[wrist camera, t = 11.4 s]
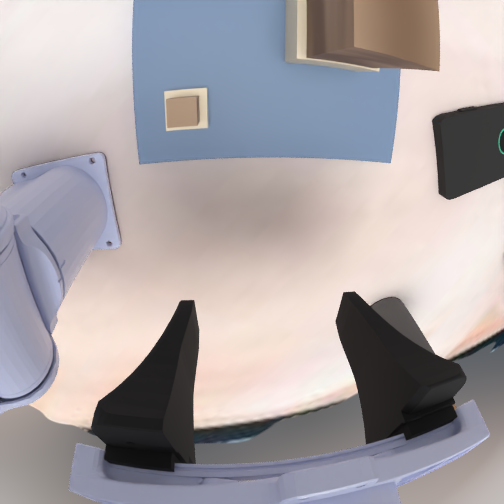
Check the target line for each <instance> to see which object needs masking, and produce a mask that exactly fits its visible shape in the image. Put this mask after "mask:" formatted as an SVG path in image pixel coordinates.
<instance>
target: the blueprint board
mask: <svg viewBox="0 0 504 504" xmlns="http://www.w3.org/2000/svg"><path fill="white" fill-rule="evenodd" d="M306 48H307V1H306V0H134V3H133V28H132V66H133V94H134V110H135V124H136V135H137V146H138V155H139V164H148V163H158V162H169V161H182V160H197V159H215V158H246V157H296V158H326V159H345V160H360V161H372V162H383V163H391V158H392V151H393V144H394V136H395V128H396V120H397V110H398V99H399V86H400V69H397V68H369V67H364V66H359V65H353V64H348V63H342V62H335V61H328V60H321V59H312V58H306Z"/></svg>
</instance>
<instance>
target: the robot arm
mask: <svg viewBox="0 0 504 504" xmlns="http://www.w3.org/2000/svg"><path fill="white" fill-rule="evenodd" d="M91 158H94V160H95V163H92V162H91ZM24 173H25V174H26V176H24ZM12 180H13V185H12V186H11V187H9V188H8V189H6V190H5V191H4V192H2V193H1V194H0V414H2V413H3V412H5V411H7V410H9V409H12V408H16V407H21V406H25V405H28V404H30V403H33V402H34V401H36V400H37V399H39V398H40V397H41V396H42V395H44V394H45V393H46V391H47V390H48V389H49V388H50V386H51V385H52V383H53V381H54V379H55V377H56V374H57V371H58V367H59V354H58V349H57V346H56V344H55V341H54V339H53V337H52V336H51V334H52V332H53V330H54V328H55V326H56V324H57V321H58V319H57V311H58V309H59V307H60V305H61V303H62V301H63V299H64V297H65V296H66V294H67V292H68V290H69V288H70V286H71V284H72V283H73V281H74V279H75V277H76V275H77V274H78V272H79V270H80V269H81V267H82V265H83V263H84V262H85V260H86V258H87V257H88V255H89V253H90V252H91V250H98V249H115V248H119V247H120V245H121V238H120V234H119V230H118V225H117V221H116V216H115V211H114V206H113V201H112V196H111V190H110V185H109V179H108V173H107V166H106V160H105V156H104V154H103V153H99V152H98V153H92V154H87V155H81V156H76V157H71V158H66V159H61V160H56V161H52V162H48V163H43V164H39V165H35V166H31V167H27V168H23V169H19V170H16V171H15V172H13V174H12ZM108 241H110V242H111V243H112V244H109V243H108ZM336 325H337V330H338V334H339V338H340V341H341V343H342V346H343V349H344V351H345V354H346V356H347V359H348V362H349V364H350V367H351V369H352V372H353V375H354V378H355V381H356V385H357V389H358V393H359V398H360V403H361V408H362V414H363V421H364V428H365V438H366V445H363V446H359V447H355V448H350V449H346V450H342V451H338V452H332V453H327V454H323V455H317V456H311V457H304V458H298V459H291V460H283V461H273V462H262V463H247V464H196V463H195V448H194V421H193V393H194V383H195V375H196V367H197V359H198V351H199V326H198V321H197V315H196V308H195V302H194V300H182V301H180V302H179V305H178V307H177V309H176V311H175V313H174V315H173V317H172V319H171V320H170V322H169V324H168V326H167V327H166V329H165V331H164V332H163V334H162V336H161V337H160V339H159V340H158V342H157V343H156V345H155V346H154V347H153V349H152V350H151V352H150V353H149V354H148V355H147V357H146V358H145V359H144V360H143V362H142V363H141V364H140V365H139V366H138V367H137V368H136V369H135V371H134V372H133V373H132V374H131V375H130V376H129V377H128V378H126V379H125V380H124V381H123V382H122V383H121V384H120V385H119V386H118V387H117V388H115V389H114V390H113V391H112V392H110V393H109V394H108V395H106V396H105V397H104V398H102V399H101V400H100V401H99V402H98V404H97V407H96V410H95V413H94V417H93V421H92V426H91V429H92V431H93V432H94V434H95V435H96V436H98V437H99V438H100V439H101V440H102V441H103V442H104V443H105V444H106V449H105V450H103V449H101V448H98V447H93V446H89V445H84V444H80V443H77V444H76V448H75V453H74V459H73V464H72V470H71V476H70V483H69V490H70V491H72V492H74V493H76V494H78V495H81V496H83V497H85V498H88V499H90V500H93V501H96V502H100V503H104V504H401V502H400V498H399V494H398V491H397V487H398V486H401V485H403V484H405V483H408V482H410V481H412V480H415V479H417V478H419V477H421V476H424V475H426V474H428V473H430V472H432V471H434V470H436V469H438V468H440V467H442V466H444V465H445V464H447V463H449V462H451V461H453V460H455V459H457V458H459V457H460V456H462V455H464V454H465V453H467V452H468V451H470V450H471V449H473V448H474V447H476V446H477V445H478V444H480V443H481V442H482V441H484V440H485V439H486V438H488V437H489V436H490V433H489V431H488V429H487V427H486V424H485V422H484V420H483V418H482V416H481V414H480V411H479V410H478V407H477V405H476V403H475V401H474V400H471V401H469V402H467V403H465V404H463V405H461V406H459V407H457V408H456V409H454V407H453V405H454V404H455V401H454V399H453V397H454V396H455V394H456V393H457V392H458V391H459V390H460V389H461V388H462V386H463V385H464V384H465V382H466V376H465V374H464V372H463V370H462V368H461V367H460V365H459V364H457V363H454V362H452V361H449V360H447V359H444V358H442V357H440V356H438V355H435V354H433V353H431V352H430V351H428V350H426V349H424V348H422V347H421V346H419V345H417V344H416V343H414V342H413V341H411V340H410V339H408V338H407V337H406V336H404V335H403V334H401V333H400V332H399V331H397V330H396V329H395V328H394V327H393V326H391V325H390V324H389V323H388V322H387V321H386V320H384V319H383V318H382V317H381V316H380V315H379V314H378V313H377V312H376V311H375V310H374V309H373V308H371V307H370V306H369V305H368V304H367V303H366V302H365V301H364V300H363V299H362V298H361V297H360V296H359V295H358V294H357V293H356V292H343V296H342V300H341V304H340V307H339V311H338V315H337V318H336ZM258 479H261V480H258ZM239 480H253V481H245V482H239Z"/></svg>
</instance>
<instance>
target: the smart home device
mask: <svg viewBox="0 0 504 504" xmlns="http://www.w3.org/2000/svg"><path fill="white" fill-rule="evenodd" d="M432 123H433V130H434V138H435V146H436V156H437V168H438V185H439V194H440V195H442V196H443V197H445V198H446V199H448V200H450V199H454V198H457V197H459V196H461V195H464V194H466V193H469V192H471V191H473V190H476V189H478V188H480V187H483V186H485V185H487V184H490V183H492V182H494V181H497V180H499V179H501V178H504V103H498V104H492V105H485V106H480V107H468V108H463V109H458V111H453V112H449V113H444V114H440V115H437V116H436V117H434V119H433V120H432Z"/></svg>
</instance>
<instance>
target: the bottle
mask: <svg viewBox="0 0 504 504" xmlns="http://www.w3.org/2000/svg"><path fill="white" fill-rule="evenodd" d="M371 308H373V309H374V310H375V311H376V312H377V313H378V314H379V315H380V316H381V317H382V318H383V319H384V320H386V321H387V322H388V323H389V324H390V325H391V326H393V327H394V328H395V329H396V330H397V331H399V332H400V333H401V334H403V335H404V336H406V337H407V338H408V339H410V340H411V341H413V342H414V343H416V344H417V345H419V346H421V347H422V348H424V349H426V350H428V351H430V352H431V353H433V354H435V353H434V351H433V350H432V348H431V346H430V345H429V343H428V341H427V340H426V338H425V336H424V335H423V333H422V332H421V330H420V328H419V327H418V325H417V324H416V322H415V320H414V319H413V317H412V316H411V314H410V313H409V311H408V310H407V308H406V307H405V305H404V304H403V303H402V301H401V300H400V299H397V298H386V299H383V300H380V301H378V302H377V303H375V304H373V305H372V306H371ZM453 407H454V409H456V408H457V407H456V406H455V405H453Z"/></svg>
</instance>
